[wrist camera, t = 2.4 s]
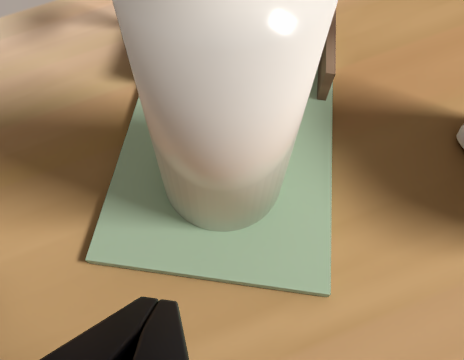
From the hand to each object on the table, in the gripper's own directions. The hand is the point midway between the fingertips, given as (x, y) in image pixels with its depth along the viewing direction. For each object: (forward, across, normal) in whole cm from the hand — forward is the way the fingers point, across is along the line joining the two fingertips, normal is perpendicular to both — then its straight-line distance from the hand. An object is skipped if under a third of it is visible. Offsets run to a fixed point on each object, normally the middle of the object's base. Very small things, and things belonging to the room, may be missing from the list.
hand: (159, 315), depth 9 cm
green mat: (+18, 0, -2) cm, 18 cm away
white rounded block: (+14, 0, +1) cm, 15 cm away
